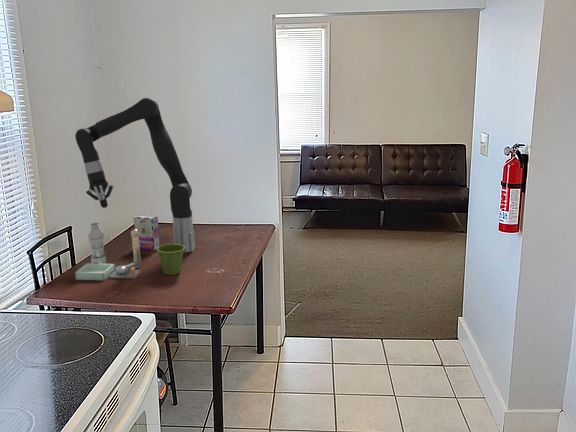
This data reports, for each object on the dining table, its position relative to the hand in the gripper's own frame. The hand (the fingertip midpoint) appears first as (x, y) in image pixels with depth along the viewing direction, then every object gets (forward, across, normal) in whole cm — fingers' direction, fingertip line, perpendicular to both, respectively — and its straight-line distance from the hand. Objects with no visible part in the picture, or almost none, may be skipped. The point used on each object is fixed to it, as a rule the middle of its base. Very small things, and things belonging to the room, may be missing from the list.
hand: (105, 207), depth 255 cm
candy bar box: (+26, -12, -12) cm, 30 cm away
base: (+28, -8, +25) cm, 39 cm away
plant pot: (+33, -27, +24) cm, 49 cm away
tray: (+26, +4, +24) cm, 36 cm away
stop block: (+29, -12, +27) cm, 41 cm away
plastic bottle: (+25, +6, +14) cm, 29 cm away
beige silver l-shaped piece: (+27, -9, +22) cm, 36 cm away
